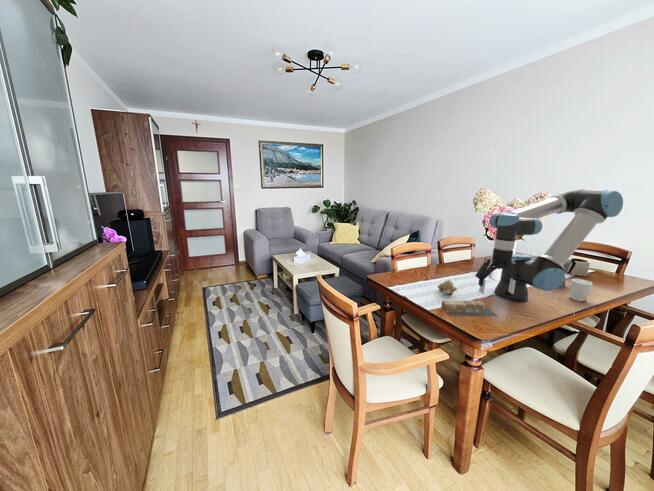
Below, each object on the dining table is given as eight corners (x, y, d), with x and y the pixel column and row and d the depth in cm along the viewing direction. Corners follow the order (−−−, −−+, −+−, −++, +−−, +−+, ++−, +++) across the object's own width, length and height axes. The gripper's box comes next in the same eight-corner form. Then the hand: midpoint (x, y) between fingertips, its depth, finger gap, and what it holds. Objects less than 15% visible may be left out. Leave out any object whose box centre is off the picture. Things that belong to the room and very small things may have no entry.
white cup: (573, 295, 150) (577, 277, 147) (591, 301, 142) (595, 283, 140) (564, 297, 147) (568, 279, 144) (581, 303, 140) (586, 285, 137)
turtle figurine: (451, 279, 155) (458, 281, 143) (454, 291, 155) (461, 294, 143) (436, 282, 156) (441, 285, 144) (439, 295, 156) (445, 298, 144)
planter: (567, 270, 190) (570, 256, 188) (588, 274, 182) (591, 260, 180) (563, 273, 184) (566, 259, 181) (585, 277, 175) (588, 263, 173)
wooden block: (479, 300, 132) (442, 300, 132) (484, 304, 128) (445, 304, 128) (478, 308, 133) (441, 308, 133) (483, 312, 129) (444, 312, 129)
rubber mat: (485, 306, 136) (485, 305, 136) (498, 317, 126) (498, 316, 125) (443, 305, 137) (443, 304, 137) (452, 316, 126) (452, 315, 126)
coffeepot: (549, 287, 160) (555, 257, 155) (538, 281, 169) (543, 253, 165) (577, 288, 159) (584, 258, 155) (564, 282, 168) (570, 253, 164)
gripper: (525, 246, 127) (517, 289, 132) (471, 246, 127) (465, 288, 132) (537, 251, 120) (528, 296, 125) (479, 250, 120) (473, 295, 125)
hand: (496, 292), depth 129 cm, fingers open, 13 cm apart
